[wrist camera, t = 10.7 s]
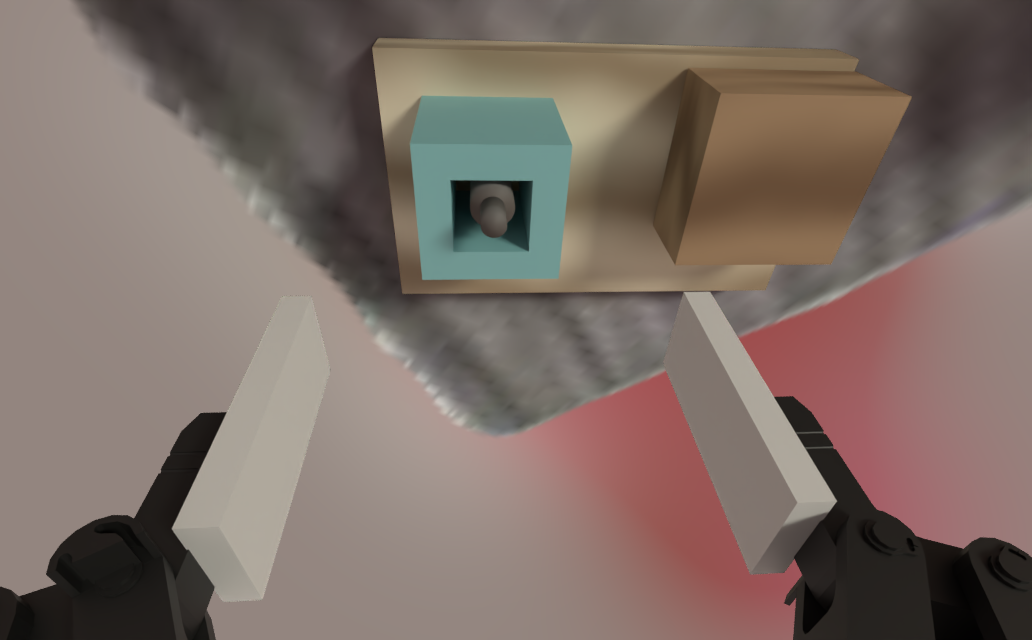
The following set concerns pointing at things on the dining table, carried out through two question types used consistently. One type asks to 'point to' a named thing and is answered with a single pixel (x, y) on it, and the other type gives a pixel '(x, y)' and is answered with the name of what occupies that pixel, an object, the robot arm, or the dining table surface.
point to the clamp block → (771, 164)
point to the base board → (595, 150)
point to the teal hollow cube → (490, 156)
